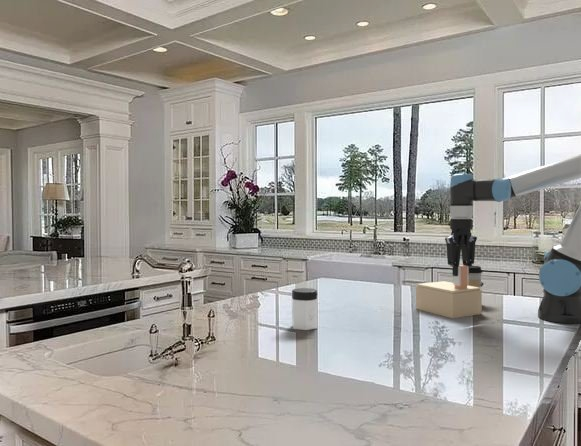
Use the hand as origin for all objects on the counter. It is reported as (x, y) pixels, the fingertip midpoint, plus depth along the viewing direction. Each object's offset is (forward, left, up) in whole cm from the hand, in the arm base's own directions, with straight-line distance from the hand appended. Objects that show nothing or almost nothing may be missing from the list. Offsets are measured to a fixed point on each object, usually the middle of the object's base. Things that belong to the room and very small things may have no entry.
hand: (460, 284), depth 173 cm
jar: (+13, +56, -11) cm, 59 cm away
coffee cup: (+13, -19, -11) cm, 26 cm away
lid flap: (+6, 0, -2) cm, 6 cm away
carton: (+6, 0, -11) cm, 13 cm away
